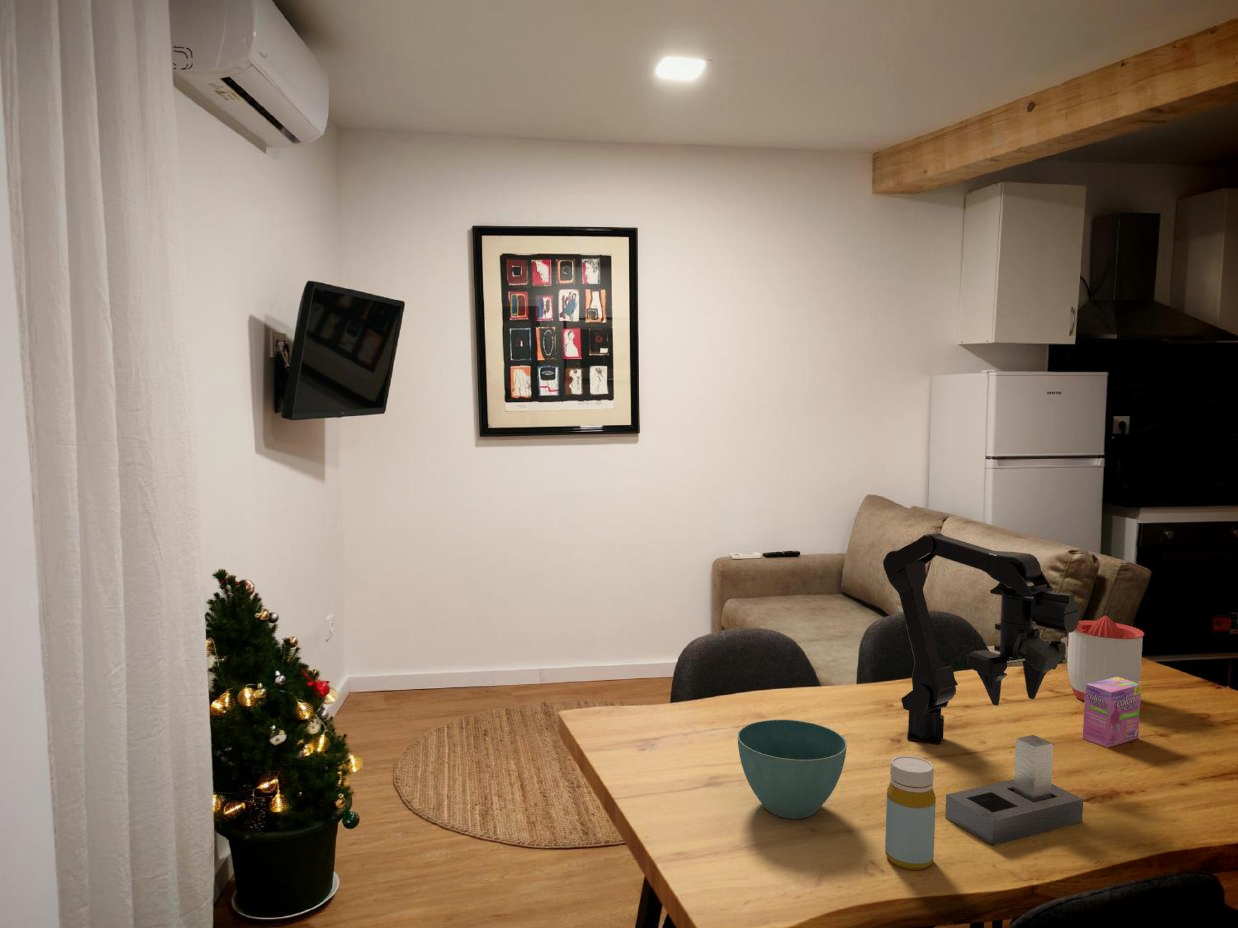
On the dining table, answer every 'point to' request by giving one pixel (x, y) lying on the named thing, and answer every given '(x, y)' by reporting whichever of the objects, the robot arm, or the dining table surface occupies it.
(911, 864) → the bottle
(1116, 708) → the box
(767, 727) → the teal bowl
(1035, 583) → the robot arm
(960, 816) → the grey flat block
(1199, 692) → the dining table surface
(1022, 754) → the peg
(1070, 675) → the citrus juicer
